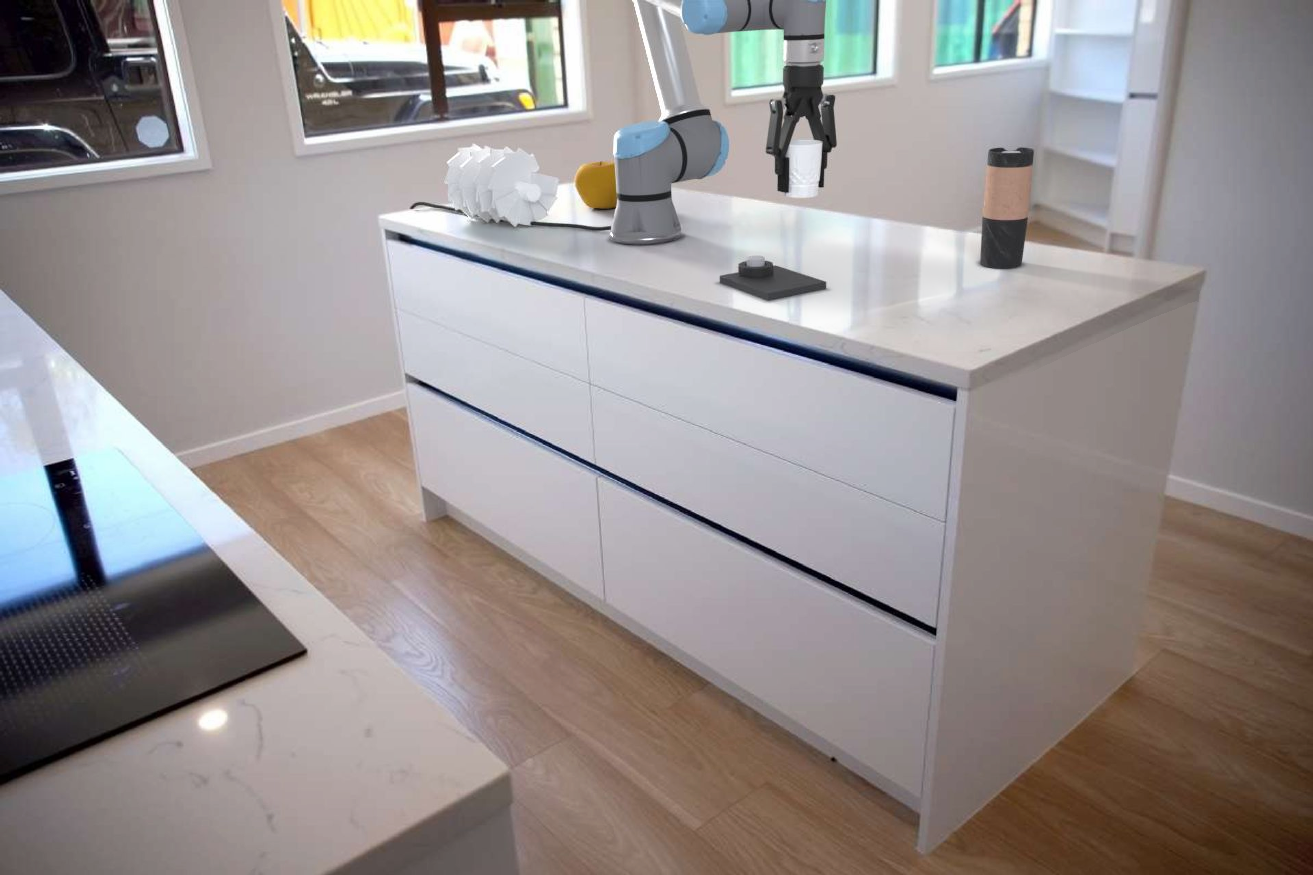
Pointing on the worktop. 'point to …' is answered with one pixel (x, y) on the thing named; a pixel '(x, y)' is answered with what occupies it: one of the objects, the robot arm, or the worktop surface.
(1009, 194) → the travel mug
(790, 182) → the white cup
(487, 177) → the spiral staircase
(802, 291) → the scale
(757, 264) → the button
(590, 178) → the apple
